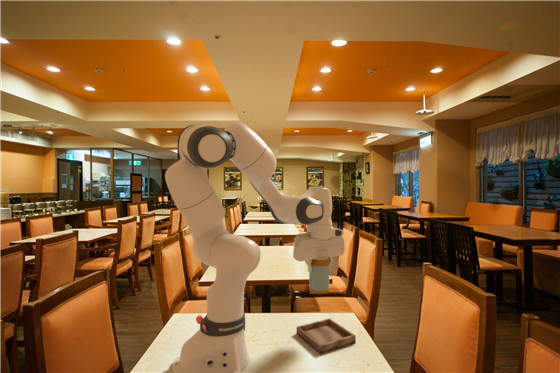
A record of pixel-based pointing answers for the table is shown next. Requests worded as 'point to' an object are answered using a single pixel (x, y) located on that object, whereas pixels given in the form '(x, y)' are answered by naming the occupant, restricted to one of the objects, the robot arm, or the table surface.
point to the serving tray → (325, 335)
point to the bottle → (320, 273)
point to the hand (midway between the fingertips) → (319, 270)
